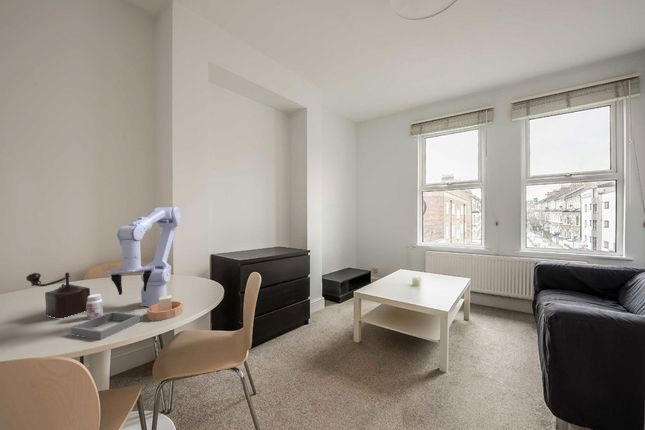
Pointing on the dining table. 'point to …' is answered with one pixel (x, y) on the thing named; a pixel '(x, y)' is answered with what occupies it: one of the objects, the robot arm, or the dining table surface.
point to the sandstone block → (165, 303)
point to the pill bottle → (94, 306)
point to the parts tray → (97, 334)
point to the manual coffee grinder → (63, 297)
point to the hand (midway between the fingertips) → (133, 292)
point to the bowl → (162, 315)
